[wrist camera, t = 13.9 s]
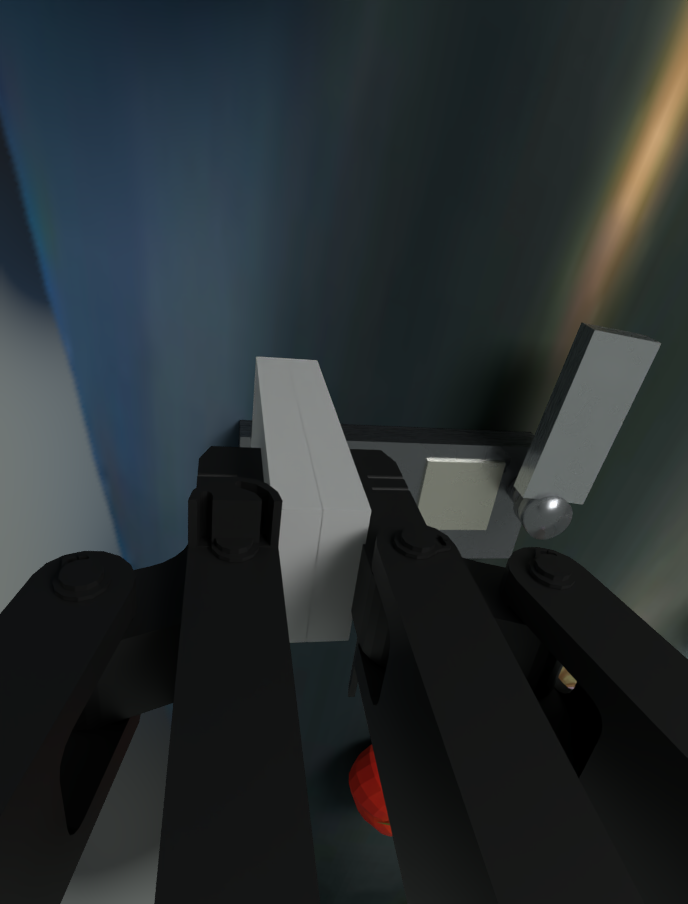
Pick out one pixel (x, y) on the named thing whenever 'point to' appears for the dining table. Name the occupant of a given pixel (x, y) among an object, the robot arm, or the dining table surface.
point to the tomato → (369, 791)
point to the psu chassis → (452, 479)
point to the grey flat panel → (580, 425)
